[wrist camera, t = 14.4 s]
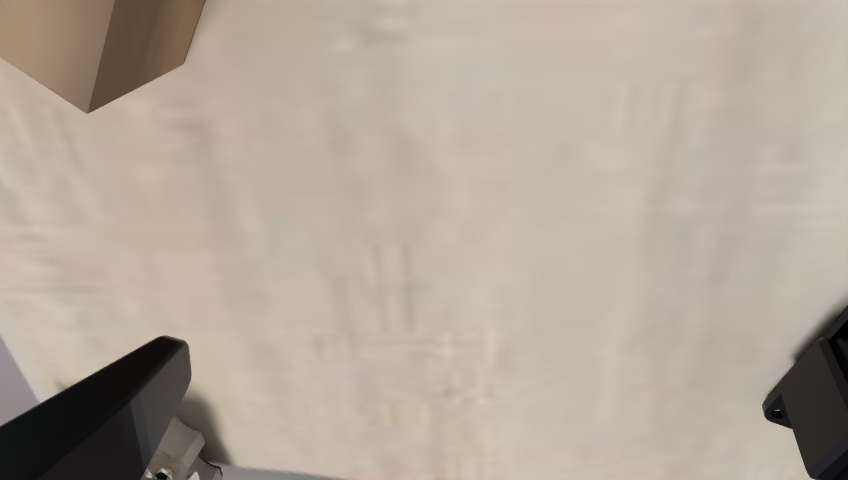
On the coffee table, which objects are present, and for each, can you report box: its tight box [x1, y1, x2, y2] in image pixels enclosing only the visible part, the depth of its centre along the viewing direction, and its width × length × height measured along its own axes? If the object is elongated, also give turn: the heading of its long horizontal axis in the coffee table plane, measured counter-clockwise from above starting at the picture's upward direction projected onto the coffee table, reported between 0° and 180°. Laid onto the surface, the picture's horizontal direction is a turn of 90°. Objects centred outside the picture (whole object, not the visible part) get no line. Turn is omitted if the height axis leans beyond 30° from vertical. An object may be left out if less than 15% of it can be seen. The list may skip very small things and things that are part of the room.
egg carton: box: [141, 417, 223, 480], centre depth 36 cm, size 11×8×4 cm
